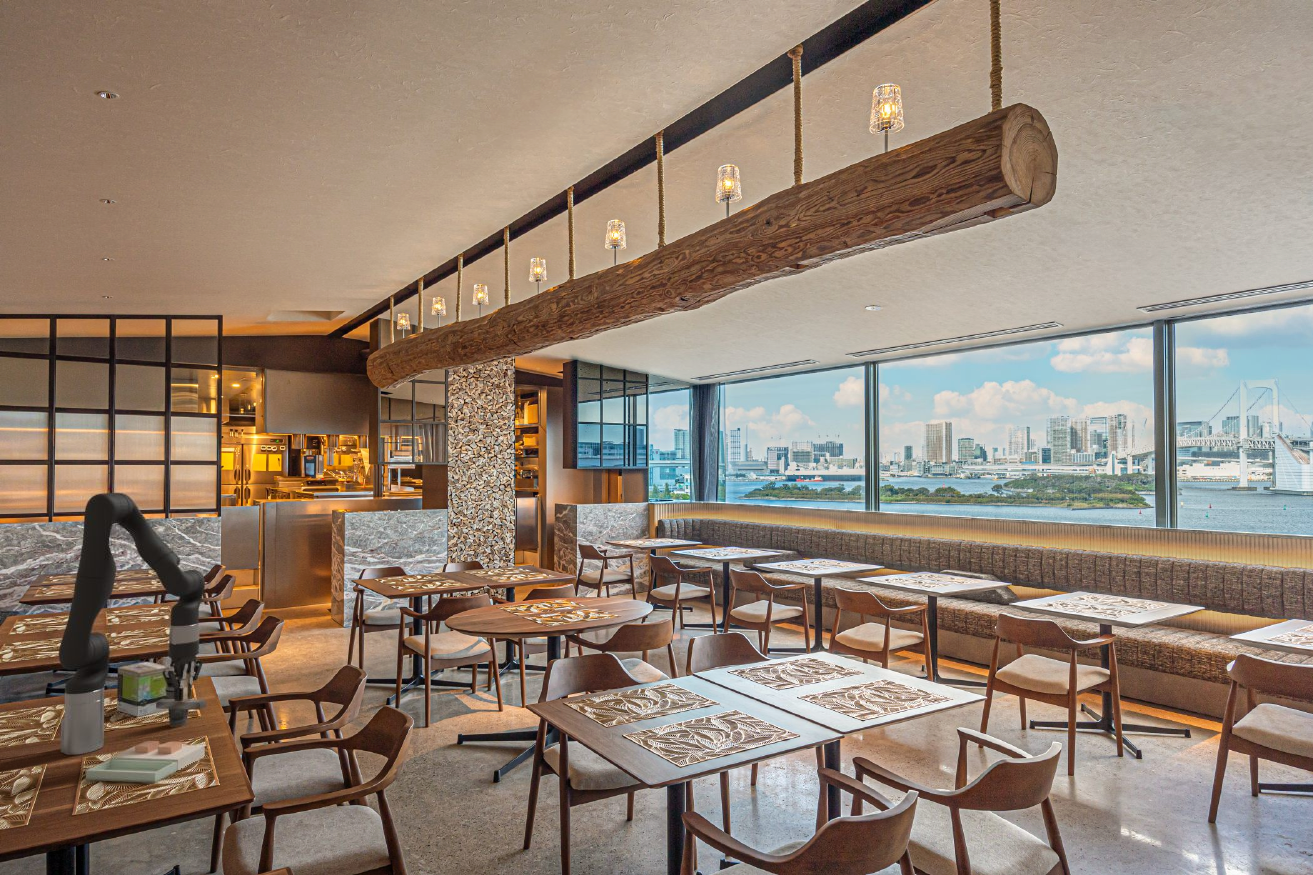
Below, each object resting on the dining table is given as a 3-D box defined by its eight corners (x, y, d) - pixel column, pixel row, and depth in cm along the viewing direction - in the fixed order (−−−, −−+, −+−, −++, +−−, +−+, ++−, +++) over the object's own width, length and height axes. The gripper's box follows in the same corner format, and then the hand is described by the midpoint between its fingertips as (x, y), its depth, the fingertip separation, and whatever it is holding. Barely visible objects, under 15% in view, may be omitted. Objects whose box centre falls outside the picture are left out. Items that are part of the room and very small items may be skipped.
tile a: (134, 752, 208) (134, 745, 208) (146, 747, 212) (146, 740, 212) (147, 753, 207) (148, 746, 207) (159, 747, 211) (159, 741, 211)
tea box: (169, 709, 255) (170, 665, 256) (136, 717, 247) (137, 672, 247) (148, 702, 263) (148, 660, 264) (115, 710, 255) (116, 666, 255)
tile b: (157, 753, 207) (157, 746, 207) (168, 747, 211) (169, 741, 211) (171, 753, 206) (171, 747, 206) (181, 748, 210) (182, 741, 210)
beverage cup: (178, 729, 235) (179, 664, 236) (158, 728, 236) (159, 664, 237) (197, 721, 242) (198, 659, 243) (178, 720, 244) (178, 658, 244)
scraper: (156, 708, 219) (156, 673, 219) (162, 705, 221) (163, 671, 221) (200, 709, 217) (200, 674, 217) (206, 706, 219) (206, 672, 220)
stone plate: (111, 768, 205) (111, 756, 205) (140, 754, 214) (140, 743, 215) (177, 770, 202) (178, 759, 202) (204, 756, 212) (204, 745, 212)
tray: (85, 779, 197) (86, 770, 197) (110, 768, 204) (110, 759, 204) (155, 782, 194) (155, 772, 194) (177, 770, 202) (177, 761, 202)
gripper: (190, 633, 227) (188, 691, 226) (153, 644, 213) (152, 706, 213) (212, 634, 226) (211, 692, 225) (178, 645, 212) (176, 707, 212)
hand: (182, 698), depth 219 cm, fingers closed on scraper, 2 cm apart
